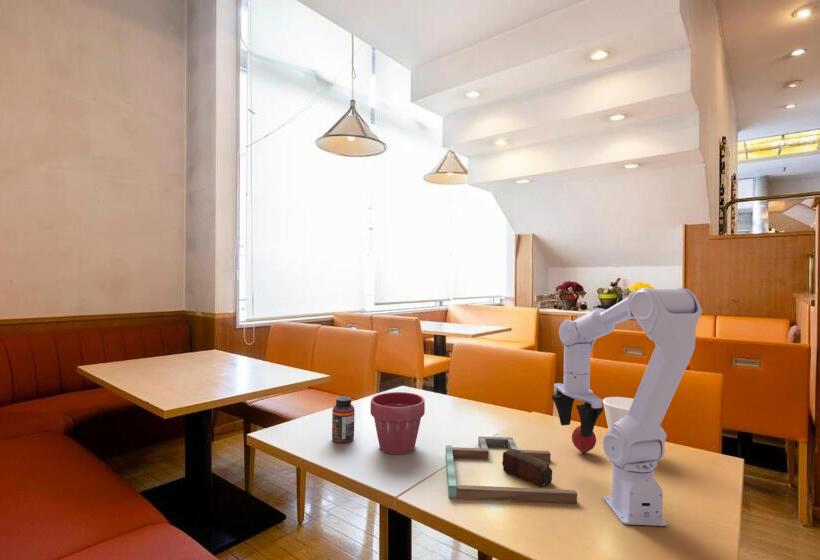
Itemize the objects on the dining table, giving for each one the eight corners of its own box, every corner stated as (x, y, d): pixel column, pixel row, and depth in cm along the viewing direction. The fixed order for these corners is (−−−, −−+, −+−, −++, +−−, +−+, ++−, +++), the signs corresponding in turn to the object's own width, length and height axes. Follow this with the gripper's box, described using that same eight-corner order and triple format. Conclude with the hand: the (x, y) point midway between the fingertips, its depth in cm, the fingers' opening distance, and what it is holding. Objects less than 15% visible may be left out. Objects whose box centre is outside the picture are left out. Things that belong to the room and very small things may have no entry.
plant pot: (366, 439, 118) (366, 392, 118) (415, 435, 122) (416, 390, 122) (374, 461, 104) (375, 408, 104) (430, 456, 108) (431, 405, 108)
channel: (576, 503, 87) (577, 491, 87) (448, 498, 88) (448, 485, 88) (540, 446, 116) (540, 436, 116) (444, 442, 117) (444, 433, 117)
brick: (501, 471, 101) (502, 451, 100) (511, 467, 103) (512, 447, 103) (542, 489, 93) (543, 467, 93) (552, 483, 95) (553, 462, 95)
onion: (598, 458, 108) (598, 426, 108) (573, 456, 109) (574, 424, 109) (593, 449, 114) (593, 419, 114) (569, 447, 115) (570, 417, 115)
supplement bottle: (327, 438, 118) (328, 397, 118) (346, 433, 122) (347, 393, 122) (338, 445, 114) (339, 402, 114) (358, 440, 117) (358, 398, 117)
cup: (624, 461, 107) (625, 411, 107) (591, 443, 118) (592, 398, 118) (663, 457, 110) (664, 408, 110) (627, 439, 121) (629, 395, 121)
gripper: (613, 378, 95) (612, 439, 96) (571, 365, 109) (570, 418, 109) (586, 379, 93) (585, 442, 93) (546, 366, 107) (545, 421, 107)
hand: (575, 430), depth 101 cm, fingers open, 7 cm apart
